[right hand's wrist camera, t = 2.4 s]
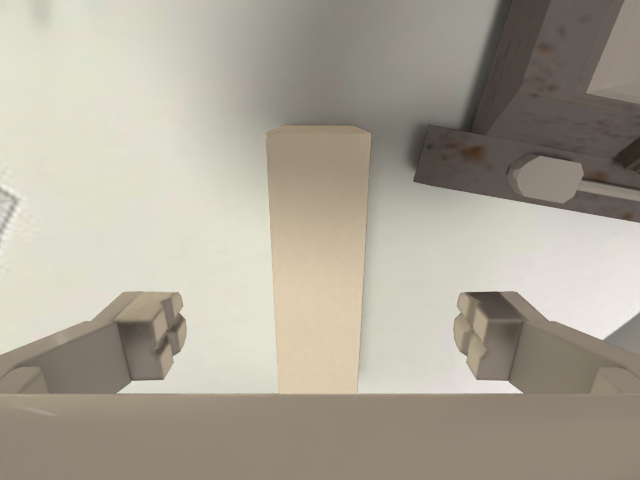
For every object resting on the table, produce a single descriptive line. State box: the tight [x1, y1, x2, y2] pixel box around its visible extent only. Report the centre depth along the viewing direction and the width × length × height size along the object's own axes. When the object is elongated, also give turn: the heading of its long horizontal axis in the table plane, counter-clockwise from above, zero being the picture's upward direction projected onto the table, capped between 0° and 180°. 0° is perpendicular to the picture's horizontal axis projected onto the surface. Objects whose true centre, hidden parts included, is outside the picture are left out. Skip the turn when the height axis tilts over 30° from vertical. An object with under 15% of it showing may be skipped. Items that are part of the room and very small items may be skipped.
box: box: [266, 125, 372, 394], centre depth 29 cm, size 27×6×10 cm, turn 0°
